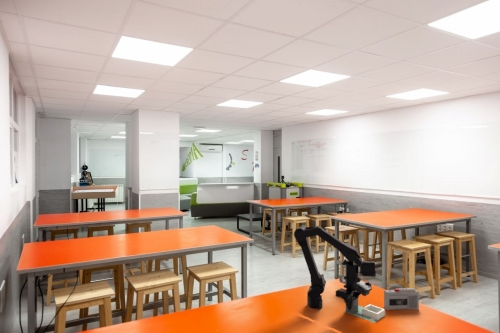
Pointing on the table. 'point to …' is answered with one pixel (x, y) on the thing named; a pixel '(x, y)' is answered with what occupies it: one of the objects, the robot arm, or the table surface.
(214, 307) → the table surface
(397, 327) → the table surface
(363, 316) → the board
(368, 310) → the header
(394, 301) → the cassette player
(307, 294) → the robot arm
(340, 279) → the mechanical component
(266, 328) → the table surface
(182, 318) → the table surface
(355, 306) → the plug
